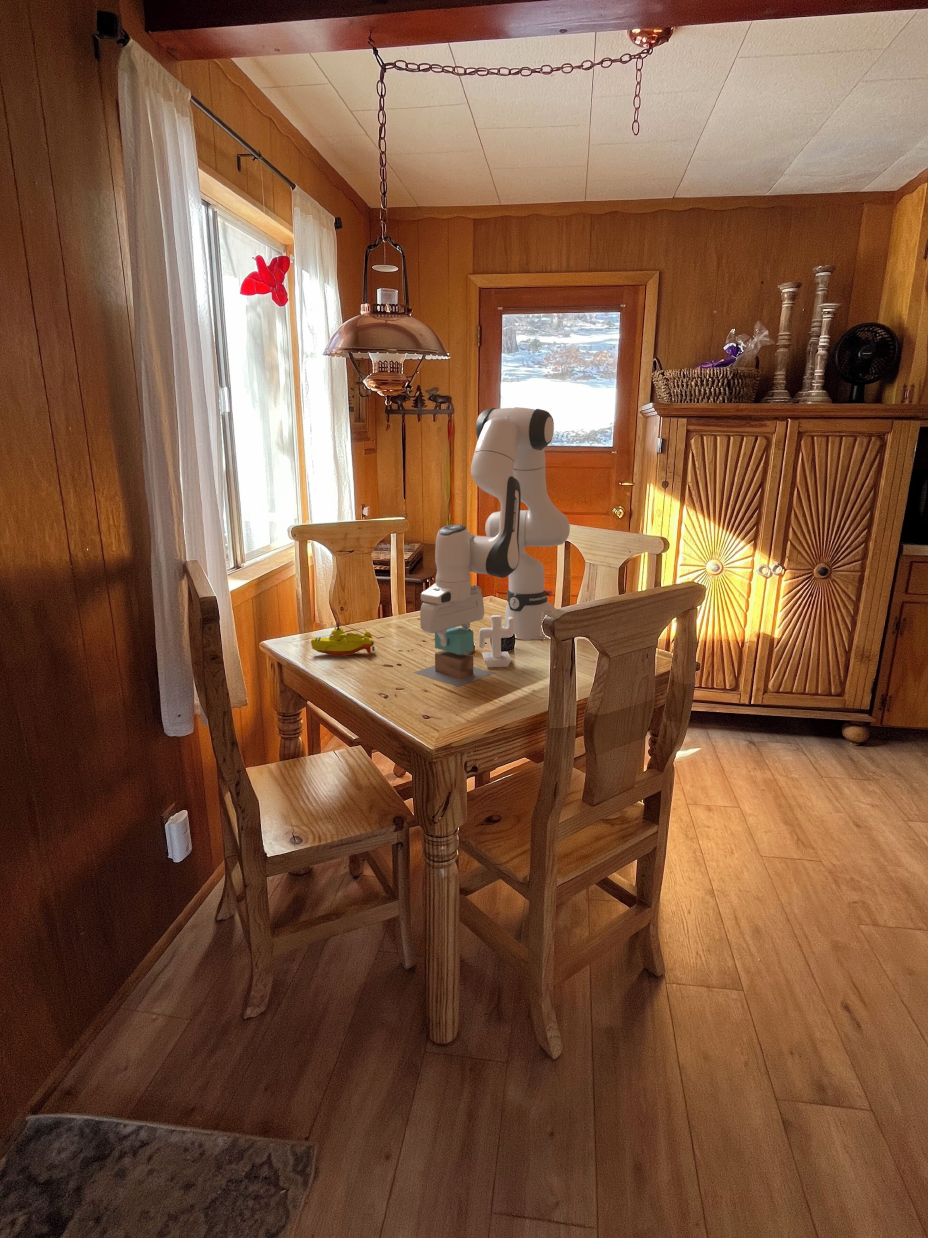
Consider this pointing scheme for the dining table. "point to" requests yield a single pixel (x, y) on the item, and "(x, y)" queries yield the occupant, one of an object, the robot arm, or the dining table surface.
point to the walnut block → (454, 664)
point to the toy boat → (343, 642)
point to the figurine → (496, 641)
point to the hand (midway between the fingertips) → (453, 642)
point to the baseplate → (454, 681)
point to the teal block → (457, 641)
